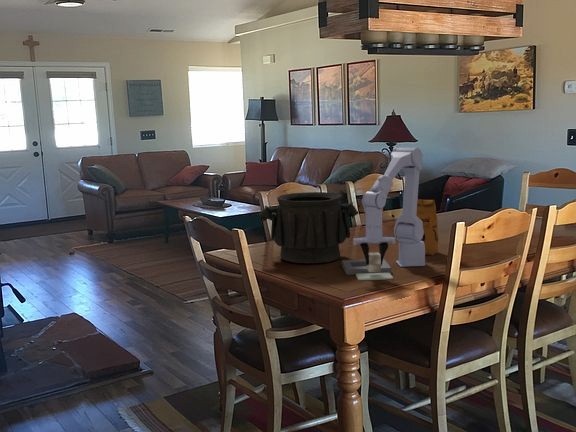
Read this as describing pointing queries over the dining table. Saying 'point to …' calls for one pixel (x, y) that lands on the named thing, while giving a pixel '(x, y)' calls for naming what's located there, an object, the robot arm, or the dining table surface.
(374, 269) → the cream block
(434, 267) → the dining table surface
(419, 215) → the coffee package
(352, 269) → the holder plate
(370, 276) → the green tile
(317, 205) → the vessel
